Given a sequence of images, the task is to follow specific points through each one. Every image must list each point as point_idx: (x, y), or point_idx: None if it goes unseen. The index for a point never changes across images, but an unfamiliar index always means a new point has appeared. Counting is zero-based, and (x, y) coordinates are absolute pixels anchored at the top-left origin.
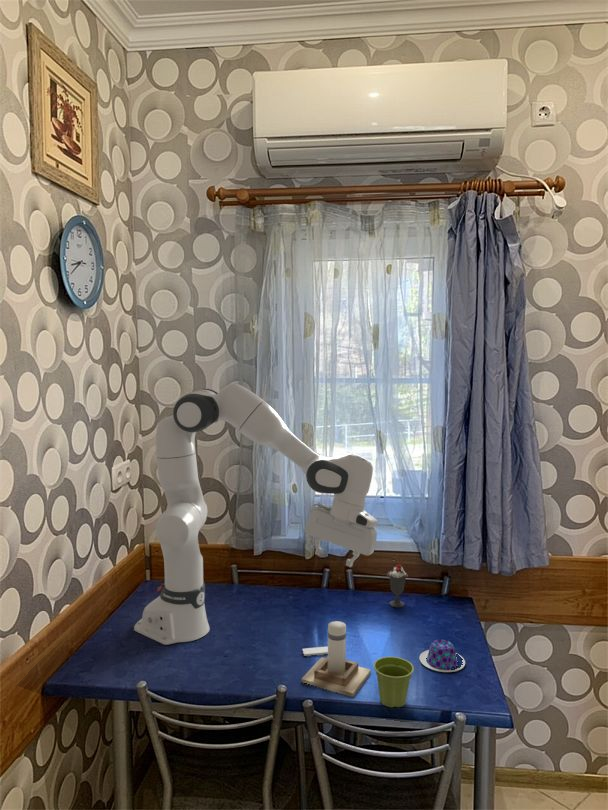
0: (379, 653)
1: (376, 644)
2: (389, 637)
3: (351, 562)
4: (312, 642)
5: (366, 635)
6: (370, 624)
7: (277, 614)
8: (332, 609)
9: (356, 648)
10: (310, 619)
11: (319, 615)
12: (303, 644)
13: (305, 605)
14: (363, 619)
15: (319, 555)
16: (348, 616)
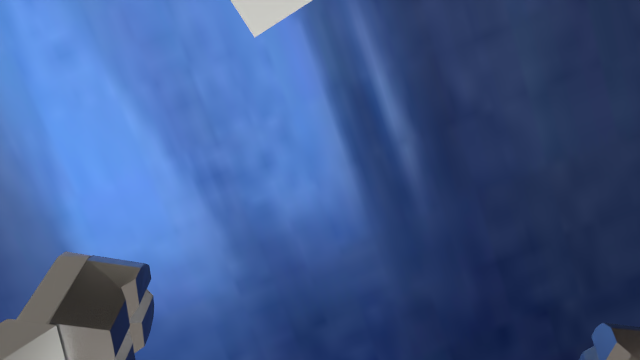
0: (39, 62)
1: (90, 140)
2: (61, 224)
3: (32, 306)
4: (388, 40)
5: (168, 201)
6: (189, 298)
7: (611, 225)
8: (391, 352)
9: (165, 66)
10: (458, 239)
11: (430, 286)
12: (424, 4)
13: (512, 340)
14: (235, 326)
15: (603, 323)
16: (306, 325)
